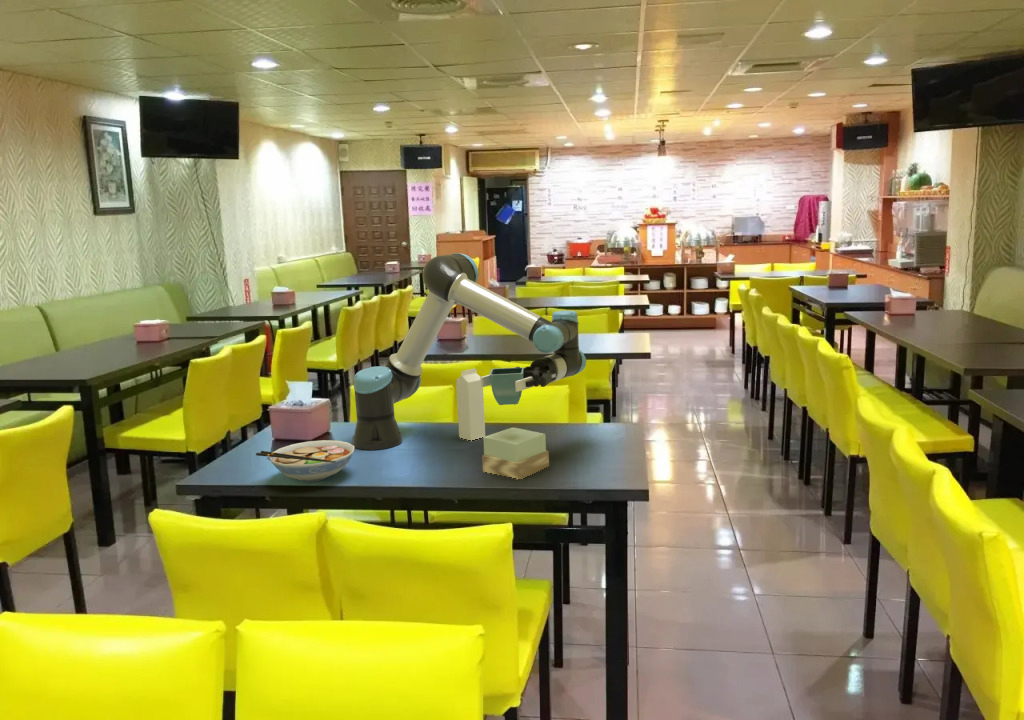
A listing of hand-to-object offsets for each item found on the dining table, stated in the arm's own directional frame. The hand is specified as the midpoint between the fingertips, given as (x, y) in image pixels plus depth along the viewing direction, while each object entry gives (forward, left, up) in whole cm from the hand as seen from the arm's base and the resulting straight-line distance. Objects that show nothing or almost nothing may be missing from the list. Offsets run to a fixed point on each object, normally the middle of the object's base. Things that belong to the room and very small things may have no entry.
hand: (498, 384), depth 206 cm
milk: (-30, +22, -25) cm, 45 cm away
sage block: (+1, +5, -20) cm, 21 cm away
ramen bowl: (-42, -30, -25) cm, 57 cm away
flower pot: (0, +4, -6) cm, 7 cm away
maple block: (+1, +5, -25) cm, 26 cm away
